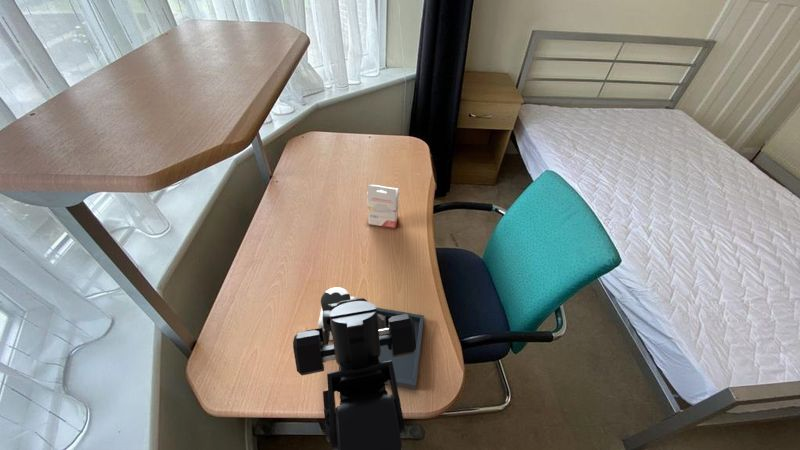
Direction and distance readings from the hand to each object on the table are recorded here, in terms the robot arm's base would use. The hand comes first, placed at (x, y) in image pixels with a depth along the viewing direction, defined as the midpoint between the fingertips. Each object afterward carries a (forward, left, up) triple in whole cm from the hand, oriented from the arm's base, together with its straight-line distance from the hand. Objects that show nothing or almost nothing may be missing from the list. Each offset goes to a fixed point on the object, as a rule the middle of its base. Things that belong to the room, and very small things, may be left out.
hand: (353, 320), depth 60 cm
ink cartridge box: (+42, +3, -15) cm, 45 cm away
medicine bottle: (+6, +6, -15) cm, 17 cm away
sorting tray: (+3, -6, -15) cm, 17 cm away
